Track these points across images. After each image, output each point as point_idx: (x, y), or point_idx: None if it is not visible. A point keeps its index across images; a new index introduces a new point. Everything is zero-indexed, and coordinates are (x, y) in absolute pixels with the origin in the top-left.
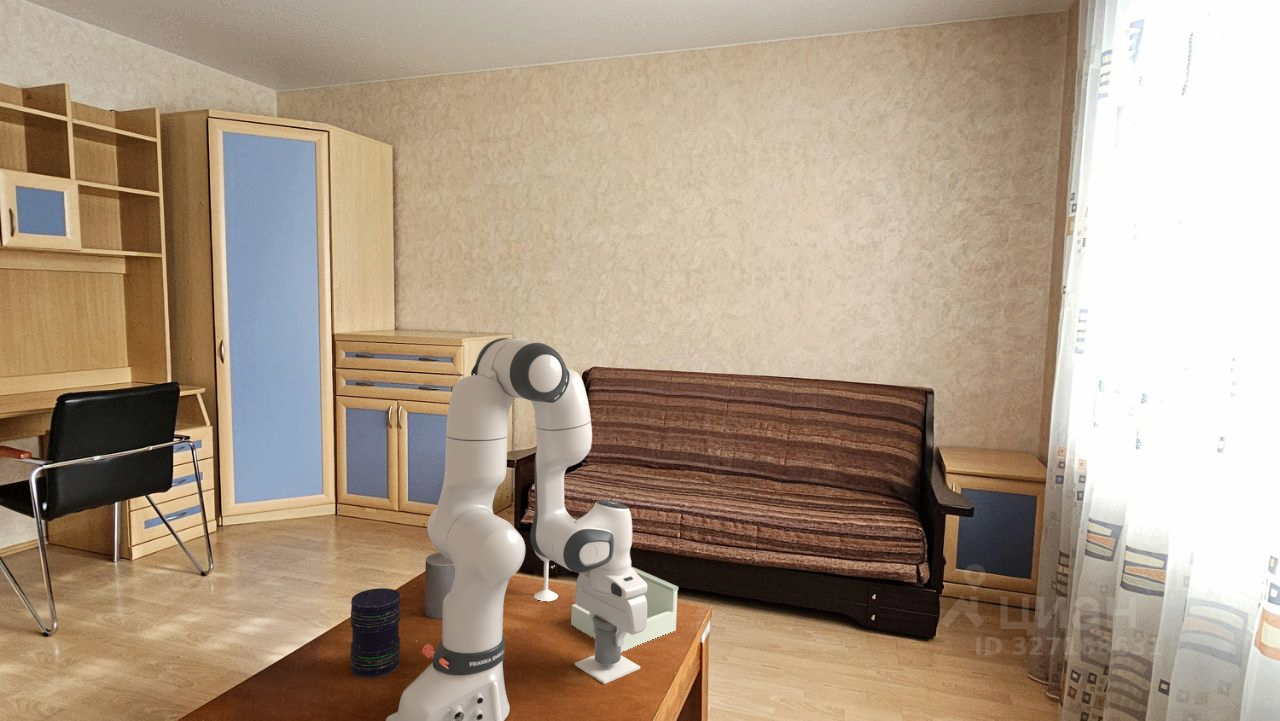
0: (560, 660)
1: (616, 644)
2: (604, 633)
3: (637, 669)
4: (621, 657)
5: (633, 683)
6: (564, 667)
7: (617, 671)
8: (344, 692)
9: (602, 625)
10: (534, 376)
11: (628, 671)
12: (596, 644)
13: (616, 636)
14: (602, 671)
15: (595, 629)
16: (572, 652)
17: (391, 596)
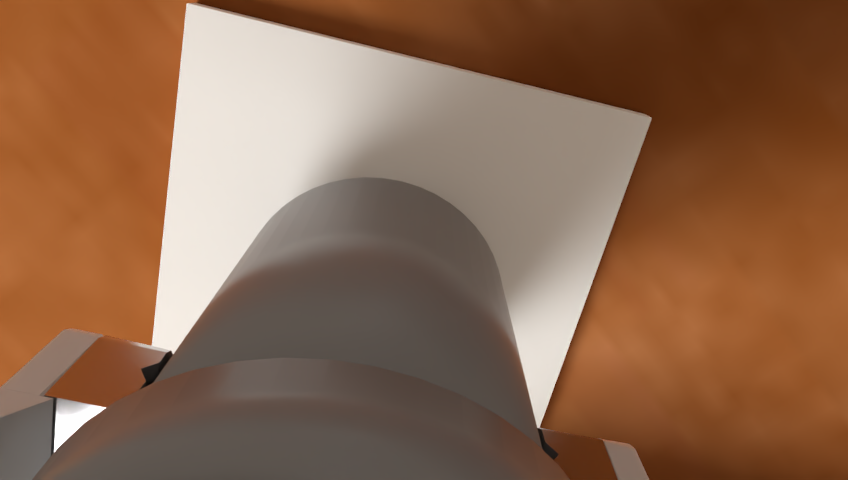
0: (818, 100)
1: (87, 337)
2: (226, 358)
3: None
4: None
5: (22, 182)
6: (710, 14)
7: (228, 233)
8: None
9: (178, 431)
10: None
11: (159, 290)
12: (428, 258)
13: (8, 408)
14: (332, 151)
15: (585, 469)
16: (790, 282)
17: None
